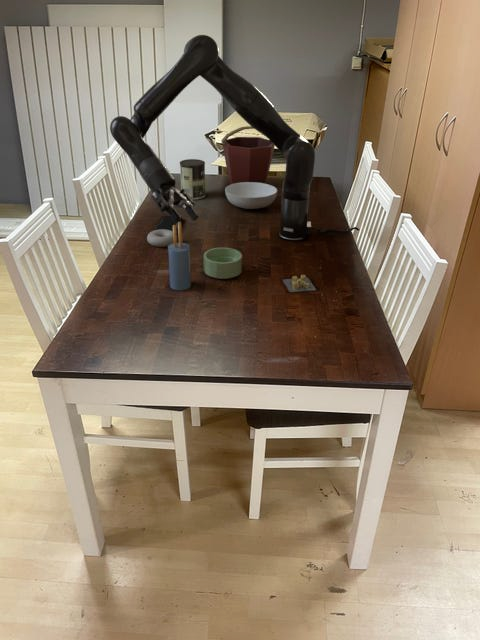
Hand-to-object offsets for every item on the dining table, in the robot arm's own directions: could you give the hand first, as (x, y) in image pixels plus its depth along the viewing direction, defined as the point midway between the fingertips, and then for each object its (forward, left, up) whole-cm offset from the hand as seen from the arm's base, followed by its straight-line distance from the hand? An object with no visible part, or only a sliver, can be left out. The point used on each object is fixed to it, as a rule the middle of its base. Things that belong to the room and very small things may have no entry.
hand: (187, 220), depth 148 cm
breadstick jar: (+1, +10, -16) cm, 19 cm away
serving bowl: (-14, -62, -16) cm, 66 cm away
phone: (+14, -35, -16) cm, 41 cm away
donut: (+13, -20, -16) cm, 29 cm away
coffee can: (+11, -71, -16) cm, 74 cm away
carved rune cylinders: (-33, +5, -16) cm, 37 cm away
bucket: (-11, -90, -16) cm, 92 cm away
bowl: (-10, -1, -16) cm, 19 cm away
